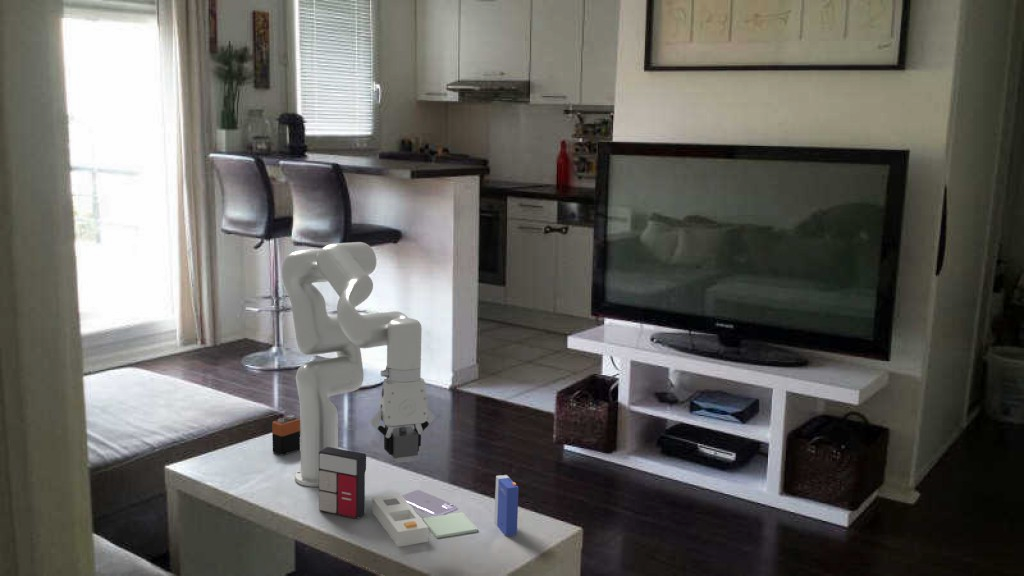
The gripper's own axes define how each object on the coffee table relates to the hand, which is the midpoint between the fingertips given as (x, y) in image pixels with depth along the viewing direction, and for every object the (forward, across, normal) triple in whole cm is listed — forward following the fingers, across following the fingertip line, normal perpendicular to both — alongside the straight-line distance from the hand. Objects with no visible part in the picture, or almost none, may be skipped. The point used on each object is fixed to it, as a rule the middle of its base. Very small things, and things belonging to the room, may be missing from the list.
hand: (402, 450), depth 207 cm
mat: (+19, +11, -2) cm, 22 cm away
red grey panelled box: (+19, -10, +14) cm, 26 cm away
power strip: (+19, 0, +2) cm, 19 cm away
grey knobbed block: (+2, 0, 0) cm, 2 cm away
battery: (+20, -14, +60) cm, 65 cm away
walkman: (+19, +23, -8) cm, 31 cm away
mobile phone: (+20, +10, +12) cm, 25 cm away
